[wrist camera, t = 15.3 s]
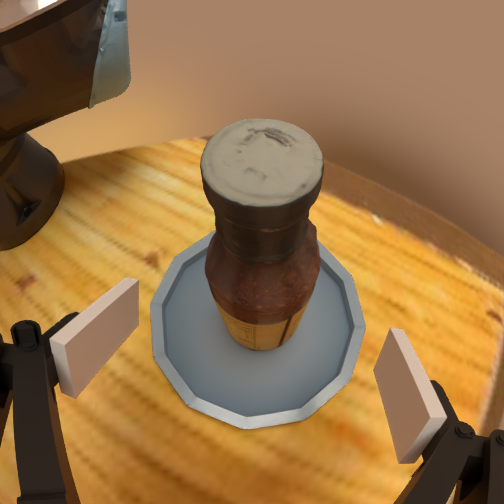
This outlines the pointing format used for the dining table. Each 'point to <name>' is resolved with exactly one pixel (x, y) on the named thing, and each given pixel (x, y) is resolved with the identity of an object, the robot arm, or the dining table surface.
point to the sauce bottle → (262, 227)
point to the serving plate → (246, 360)
